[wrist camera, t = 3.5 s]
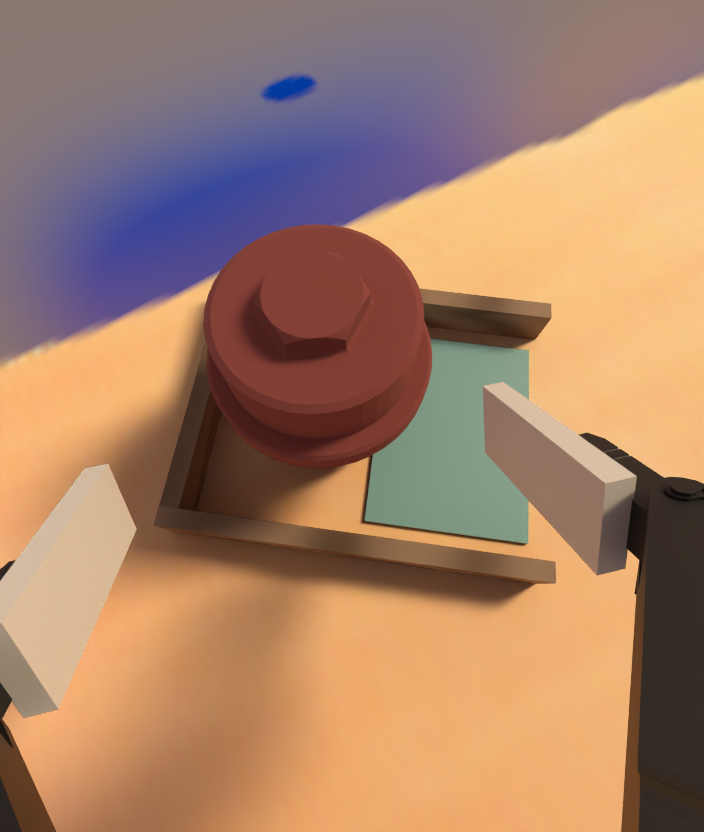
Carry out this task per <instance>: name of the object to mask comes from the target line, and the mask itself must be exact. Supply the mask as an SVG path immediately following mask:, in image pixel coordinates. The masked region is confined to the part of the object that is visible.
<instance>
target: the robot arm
mask: <svg viewBox="0 0 704 832" xmlns="http://www.w3.org/2000/svg"><path fill="white" fill-rule="evenodd" d="M483 406H484V435H485V453H486V454H487V455H488V456H489V457H490V459H491V460H492V461H493V462H494V463H495V464H496V465H497V466H498V467H499V468H500V470H501V471H502V472H503V473H504V474H505V475H506V476H507V477H508V478H509V479H510V481H511V482H512V483H513V484H514V485H515V486H516V487H517V488H518V489H519V490H520V492H521V493H522V494H523V495H524V496H525V497H526V498H527V499H528V500H529V501H530V503H531V504H532V505H533V506H534V507H535V508H536V509H537V510H538V511H539V512H540V513H541V515H542V516H543V517H544V518H545V519H546V520H547V521H548V522H549V523H550V524H551V526H552V527H553V528H554V529H555V530H556V531H557V532H558V533H559V534H560V535H561V537H562V538H563V539H564V540H565V541H566V542H567V543H568V544H569V545H570V546H571V548H572V549H573V550H574V551H575V552H576V553H577V554H578V555H579V556H580V557H581V559H582V560H583V561H584V562H585V563H586V564H587V565H588V566H589V567H590V568H591V569H592V571H593V572H594V573H595V574H596V575H601V574H605V573H609V572H613V571H617V570H621V569H625V566H626V558H627V550H629V551H630V552H631V553H632V554H634V555H635V556H636V557H637V558H638V559H639V567H638V574H637V581H636V588H635V594H636V609H635V625H634V641H633V656H632V672H631V688H630V703H629V719H628V734H627V750H626V766H625V781H624V797H623V813H622V828H621V832H704V484H703V483H700V482H698V481H695V480H691V479H686V478H680V477H667V478H664V477H662V476H661V475H659V474H657V473H656V472H654V471H653V470H651V469H650V468H648V467H647V466H645V465H644V464H642V463H641V462H639V461H638V460H636V459H635V458H633V457H632V456H630V457H629V454H627V453H626V452H624V451H623V450H621V449H618V447H617V446H615V445H614V444H612V443H611V442H609V441H608V440H606V439H604V438H601V437H598V436H595V435H592V434H589V433H584V434H580V435H578V434H576V433H575V432H573V431H572V430H571V429H569V428H568V427H566V426H565V425H564V424H562V423H561V422H559V421H558V420H556V419H555V418H554V417H552V416H551V415H549V414H548V413H547V412H545V411H544V410H542V409H541V408H539V407H538V406H537V405H535V404H534V403H532V402H531V401H530V400H528V399H527V398H525V397H524V396H522V395H521V394H520V393H518V392H517V391H515V390H514V389H513V388H511V387H510V386H508V385H507V384H505V383H504V382H500V383H495V384H490V385H485V386H483ZM136 530H137V529H136V527H135V524H134V522H133V520H132V517H131V515H130V513H129V511H128V508H127V506H126V504H125V501H124V499H123V497H122V494H121V492H120V490H119V488H118V485H117V483H116V481H115V478H114V476H113V474H112V471H111V469H110V467H109V464H104V465H99V466H94V467H89V468H85V469H84V470H83V471H82V473H81V474H80V475H79V477H78V478H77V479H76V481H75V482H74V483H73V485H72V486H71V487H70V489H69V490H68V491H67V493H66V494H65V495H64V497H63V498H62V499H61V501H60V502H59V503H58V505H57V506H56V507H55V509H54V510H53V511H52V513H51V514H50V515H49V517H48V518H47V519H46V521H45V522H44V523H43V525H42V526H41V527H40V529H39V530H38V531H37V533H36V534H35V535H34V537H33V538H32V539H31V541H30V542H29V543H28V545H27V546H26V547H25V549H24V550H23V551H22V553H21V554H20V555H19V557H18V558H17V559H16V560H14V561H10V562H8V563H7V564H6V565H5V566H4V567H2V568H1V569H0V832H56V830H55V828H54V826H53V824H52V822H51V819H50V817H49V815H48V813H47V811H46V808H45V806H44V804H43V802H42V800H41V797H40V795H39V793H38V791H37V789H36V786H35V784H34V782H33V780H32V778H31V775H30V773H29V771H28V769H27V767H26V764H25V762H24V760H23V758H22V756H21V753H20V751H19V749H18V747H17V745H16V742H15V740H14V738H13V736H12V734H11V731H10V729H9V728H8V726H7V725H6V724H5V722H4V721H3V720H2V718H3V716H4V714H5V712H6V710H7V709H8V707H9V705H10V703H11V701H12V703H13V704H14V706H15V707H16V708H17V710H18V711H19V713H20V714H21V715H22V717H23V718H26V717H30V716H34V715H38V714H42V713H46V712H50V711H54V710H58V709H59V707H60V705H61V702H62V700H63V698H64V696H65V693H66V691H67V689H68V686H69V684H70V682H71V679H72V677H73V675H74V673H75V670H76V668H77V666H78V663H79V661H80V659H81V656H82V654H83V652H84V650H85V647H86V645H87V643H88V640H89V638H90V636H91V633H92V631H93V629H94V627H95V624H96V622H97V620H98V617H99V615H100V613H101V610H102V608H103V606H104V604H105V601H106V599H107V597H108V594H109V592H110V590H111V587H112V585H113V583H114V580H115V578H116V576H117V574H118V571H119V569H120V567H121V564H122V562H123V560H124V557H125V555H126V553H127V551H128V548H129V546H130V544H131V541H132V539H133V537H134V534H135V532H136Z"/></svg>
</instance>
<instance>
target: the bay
mask: <svg viewBox="0 0 704 832" xmlns="http://www.w3.org/2000/svg"><path fill="white" fill-rule="evenodd" d="M419 290H420V293H421V296H422V300H423V307H424V322H425V324H426V326H429V327H437V328H446V329H454V330H462V331H471V332H479V333H487V334H496V335H504V336H512V337H521V338H529V339H536V338H537V337H538V335H539V334H540V333H541V331H542V330H543V329H544V327H545V326H546V325H547V323H548V322H549V321H550V319H551V304H548V303H539V302H530V301H522V300H513V299H504V298H496V297H487V296H479V295H470V294H461V293H453V292H444V291H435V290H427V289H419ZM431 347H432V370H431V375H430V380H429V384H428V387H427V390H426V392H425V395H424V398H423V401H422V403H421V405H420V407H419V409H418V411H417V413H416V415H415V417H414V418H413V419H412V421H411V422H410V424H409V425H408V427H407V428H406V429H405V430H404V431H403V432H402V433H401V434H400V435H399V436H398V437H397V438H396V439H395V440H394V441H393V442H391V443H390V444H389V445H388V446H386V447H385V448H384V449H382V450H380V451H378V452H377V453H375V454H373V458H372V466H371V474H370V482H369V490H368V497H367V505H366V513H365V521H367V522H374V523H381V524H388V525H395V526H402V527H409V528H417V529H424V530H431V531H438V532H445V533H452V534H459V535H467V536H474V537H481V538H488V539H495V540H502V541H509V542H516V543H524V544H528V499H527V498H526V497H525V496H524V495H523V494H522V493H521V492H520V490H519V489H518V488H517V487H516V486H515V485H514V484H513V483H512V482H511V481H510V479H509V478H508V477H507V476H506V475H505V474H504V473H503V472H502V471H501V470H500V468H499V467H498V466H497V465H496V464H495V463H494V462H493V461H492V460H491V459H490V457H489V456H488V455H487V454H486V453H485V435H484V406H483V386H485V385H490V384H495V383H500V382H504V383H505V384H507V385H508V386H510V387H511V388H513V389H514V390H515V391H517V392H518V393H520V394H521V395H522V396H524V397H525V398H527V399H528V400H529V350H521V349H513V348H505V347H496V346H488V345H480V344H472V343H463V342H455V341H447V340H439V339H431ZM207 348H208V345H207V342H206V343H205V346H204V350H203V353H202V357H201V361H200V364H199V368H198V371H197V375H196V378H195V382H194V385H193V389H192V392H191V396H190V399H189V403H188V406H187V410H186V414H185V417H184V421H183V424H182V428H181V431H180V435H179V438H178V442H177V445H176V449H175V452H174V456H173V460H172V463H171V467H170V470H169V474H168V477H167V481H166V484H165V488H164V491H163V495H162V498H161V502H160V505H159V509H158V513H157V516H156V520H155V523H154V526H157V527H160V528H163V529H166V530H170V531H174V532H181V533H188V534H195V535H202V536H209V537H215V538H222V539H229V540H236V541H243V542H250V543H257V544H264V545H271V546H278V547H285V548H292V549H299V550H306V551H313V552H320V553H327V554H334V555H341V556H347V557H354V558H361V559H368V560H375V561H382V562H389V563H396V564H403V565H410V566H417V567H424V568H431V569H438V570H445V571H452V572H459V573H466V574H473V575H479V576H486V577H493V578H500V579H507V580H514V581H521V582H528V583H535V584H547V583H556V568H555V562H553V561H546V560H539V559H532V558H525V557H517V556H510V555H503V554H496V553H489V552H482V551H475V550H468V549H461V548H454V547H447V546H440V545H433V544H426V543H419V542H411V541H404V540H397V539H390V538H383V537H376V536H369V535H362V534H355V533H348V532H341V531H334V530H327V529H320V528H313V527H305V526H298V525H291V524H284V523H277V522H270V521H263V520H256V519H249V518H242V517H235V516H228V515H221V514H214V513H207V512H199V511H196V507H197V503H198V499H199V495H200V491H201V487H202V483H203V479H204V475H205V471H206V467H207V463H208V460H209V456H210V452H211V448H212V444H213V440H214V436H215V432H216V428H217V424H218V420H219V416H220V412H221V411H220V409H219V408H218V406H217V404H216V402H215V399H214V397H213V395H212V393H211V389H210V385H209V381H208V377H207V366H206V361H207Z"/></svg>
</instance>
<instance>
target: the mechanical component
mask: <svg viewBox="0 0 704 832" xmlns="http://www.w3.org/2000/svg"><path fill="white" fill-rule="evenodd" d="M204 331H205V339H206V342H207V345H208V348H207V361H206V366H207V377H208V381H209V385H210V389H211V393H212V395H213V397H214V399H215V402H216V404H217V406H218V408H219V409H220V411H221V412H222V414H223V415H224V417H225V418H226V420H227V421H228V422H229V424H230V425H231V426H232V427H233V429H234V430H235V431H236V433H237V434H238V435H240V436H241V437H242V438H243V439H244V440H245V441H246V442H247V443H248V444H249V445H251V446H252V447H254V448H255V449H256V450H258V451H259V452H261V453H263V454H265V455H267V456H269V457H271V458H273V459H275V460H278V461H281V462H284V463H287V464H290V465H296V466H302V467H312V468H326V467H327V468H331V467H336V466H342V465H346V464H350V463H354V462H357V461H359V460H362V459H364V458H367V457H369V456H371V455H373V454H375V453H377V452H378V451H380V450H382V449H384V448H385V447H386V446H388V445H389V444H390V443H391V442H393V441H394V440H395V439H396V438H397V437H398V436H399V435H400V434H401V433H402V432H403V431H404V430H405V429H406V428H407V427H408V425H409V424H410V422H411V421H412V419H413V418H414V417H415V415H416V413H417V411H418V409H419V407H420V405H421V403H422V401H423V398H424V395H425V392H426V390H427V387H428V384H429V380H430V375H431V370H432V347H431V339H430V336H429V333H428V329H427V326H426V324H425V322H424V307H423V300H422V296H421V293H420V290H419V287H418V284H417V282H416V280H415V278H414V277H413V275H412V273H411V271H410V270H409V269H408V267H407V266H406V265H405V263H404V262H403V261H402V260H401V259H400V258H399V257H398V256H397V255H396V254H395V253H394V252H393V251H392V250H391V249H389V248H388V247H387V246H385V245H384V244H382V243H381V242H379V241H378V240H376V239H374V238H372V237H370V236H368V235H366V234H363V233H360V232H358V231H355V230H352V229H348V228H343V227H338V226H332V225H302V226H296V227H290V228H286V229H282V230H279V231H276V232H273V233H270V234H268V235H266V236H264V237H261V238H259V239H257V240H256V241H254V242H253V243H251V244H249V245H248V246H246V247H245V248H243V249H242V250H241V251H240V252H238V253H237V254H236V255H235V256H234V257H233V258H231V260H230V261H229V262H228V263H227V264H226V265H225V266H224V267H223V269H222V270H221V272H220V273H219V275H218V276H217V278H216V279H215V281H214V283H213V285H212V287H211V290H210V292H209V294H208V298H207V302H206V306H205V312H204Z"/></svg>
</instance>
